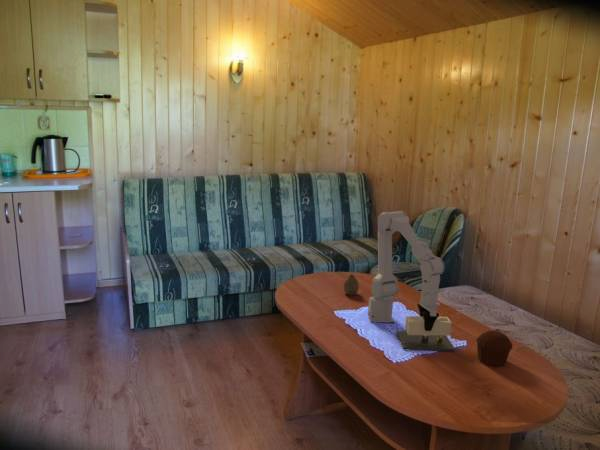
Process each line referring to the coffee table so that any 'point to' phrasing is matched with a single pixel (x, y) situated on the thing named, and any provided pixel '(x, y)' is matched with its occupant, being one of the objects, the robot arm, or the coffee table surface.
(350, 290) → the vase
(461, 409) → the coffee table surface
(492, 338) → the muffin
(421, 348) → the flange base
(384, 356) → the coffee table surface
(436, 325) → the block with holes
